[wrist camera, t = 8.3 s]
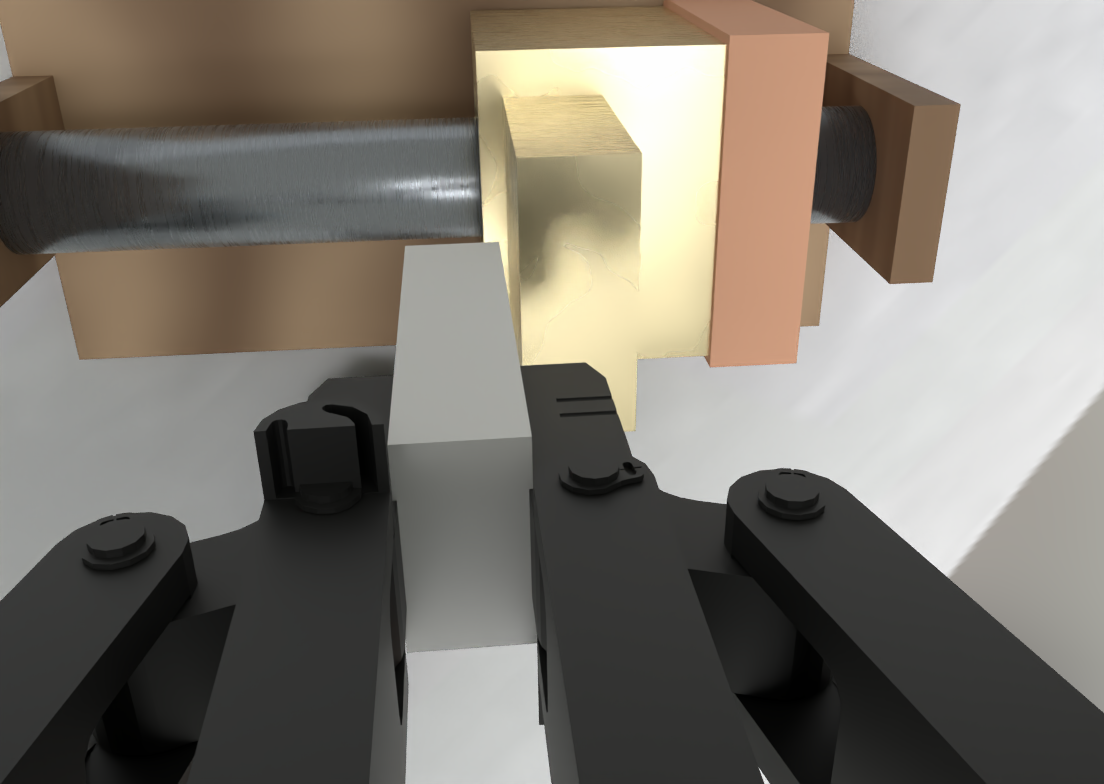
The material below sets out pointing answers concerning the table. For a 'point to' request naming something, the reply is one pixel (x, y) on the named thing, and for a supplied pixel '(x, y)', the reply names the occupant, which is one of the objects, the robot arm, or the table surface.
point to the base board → (358, 95)
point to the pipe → (300, 183)
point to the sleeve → (601, 182)
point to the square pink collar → (762, 176)
